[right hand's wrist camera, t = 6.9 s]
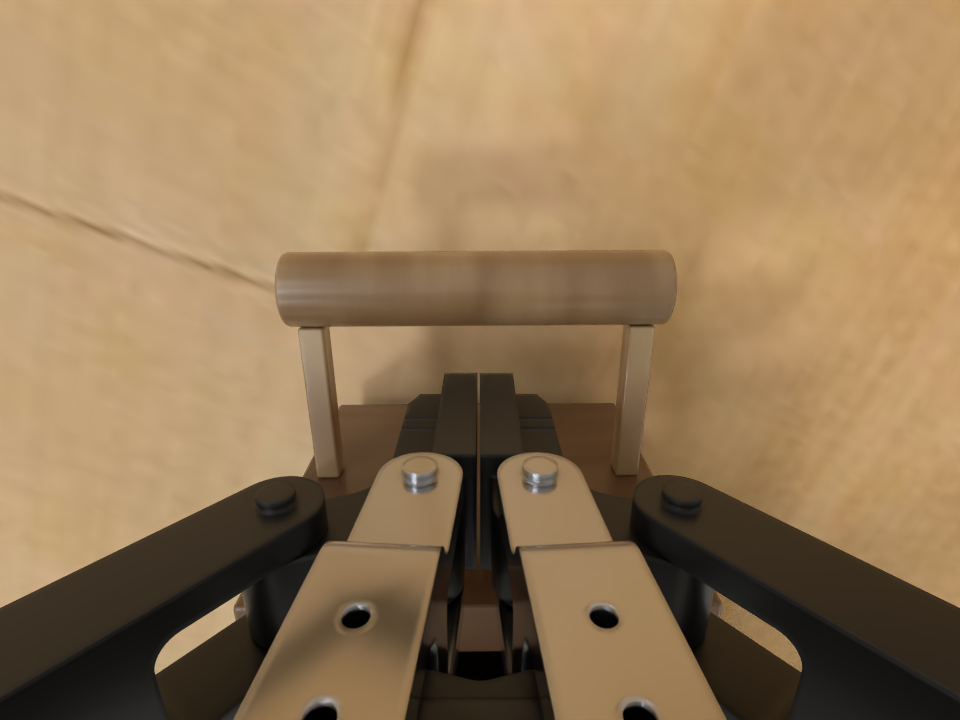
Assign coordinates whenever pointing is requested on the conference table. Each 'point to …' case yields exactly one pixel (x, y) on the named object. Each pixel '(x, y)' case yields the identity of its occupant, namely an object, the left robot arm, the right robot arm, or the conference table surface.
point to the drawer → (477, 302)
